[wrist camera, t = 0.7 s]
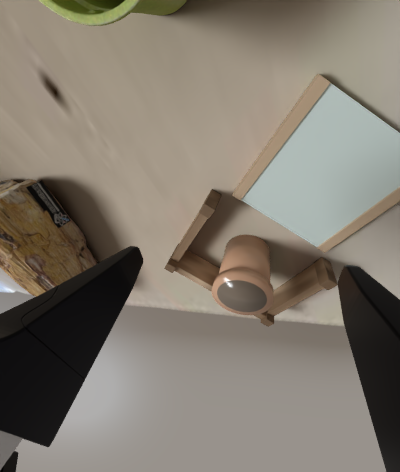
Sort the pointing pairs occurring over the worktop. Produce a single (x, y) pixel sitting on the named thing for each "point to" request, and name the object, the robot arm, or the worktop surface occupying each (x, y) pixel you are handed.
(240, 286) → the terracotta pot
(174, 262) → the frame
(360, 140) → the lid pane
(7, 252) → the petrified wood
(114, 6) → the plant pot
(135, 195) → the worktop surface
